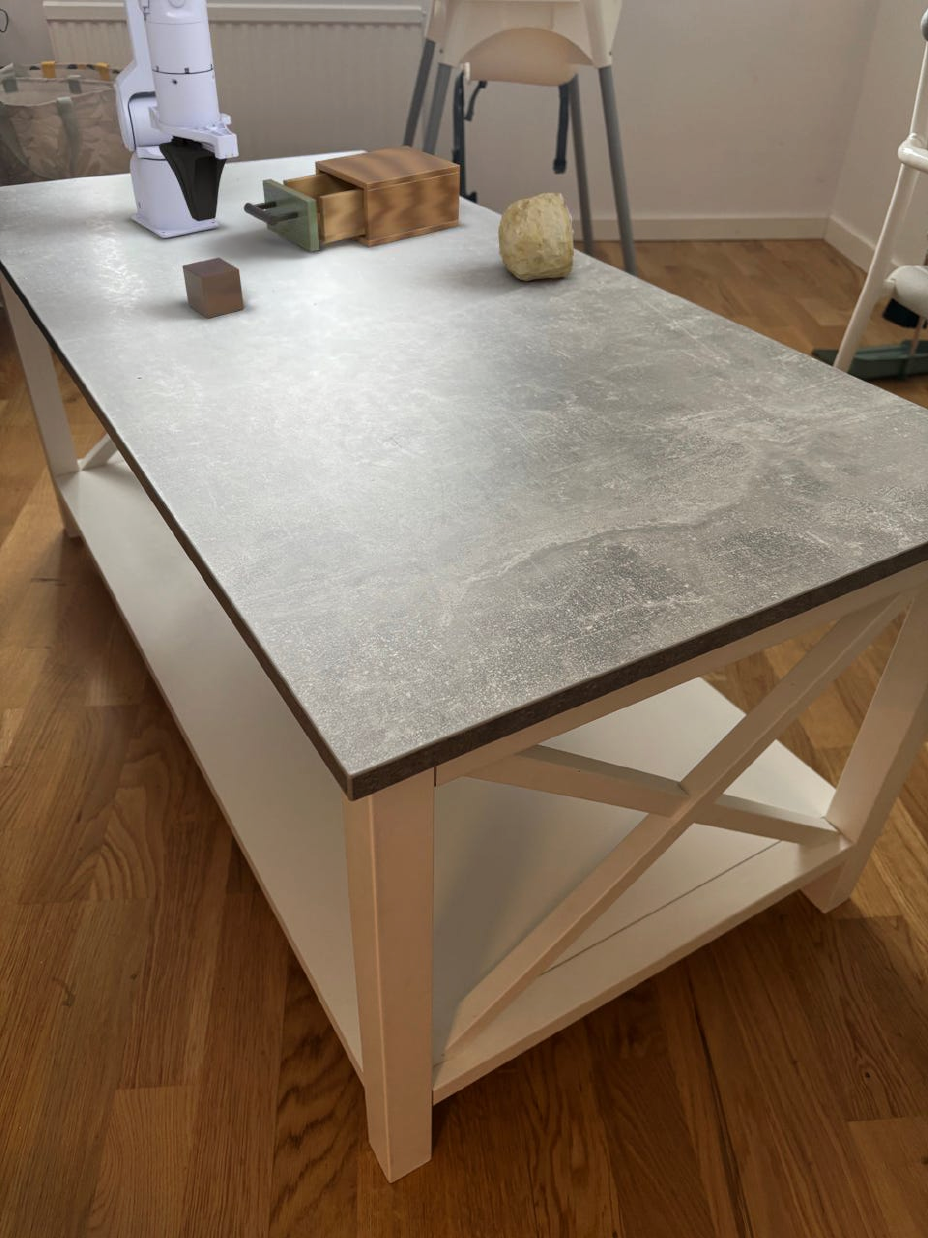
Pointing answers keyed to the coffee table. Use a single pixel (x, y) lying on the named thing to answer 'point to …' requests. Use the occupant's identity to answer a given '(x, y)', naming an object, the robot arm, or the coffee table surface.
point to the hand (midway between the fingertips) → (203, 218)
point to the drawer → (312, 209)
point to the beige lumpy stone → (537, 237)
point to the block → (213, 287)
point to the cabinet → (400, 192)
